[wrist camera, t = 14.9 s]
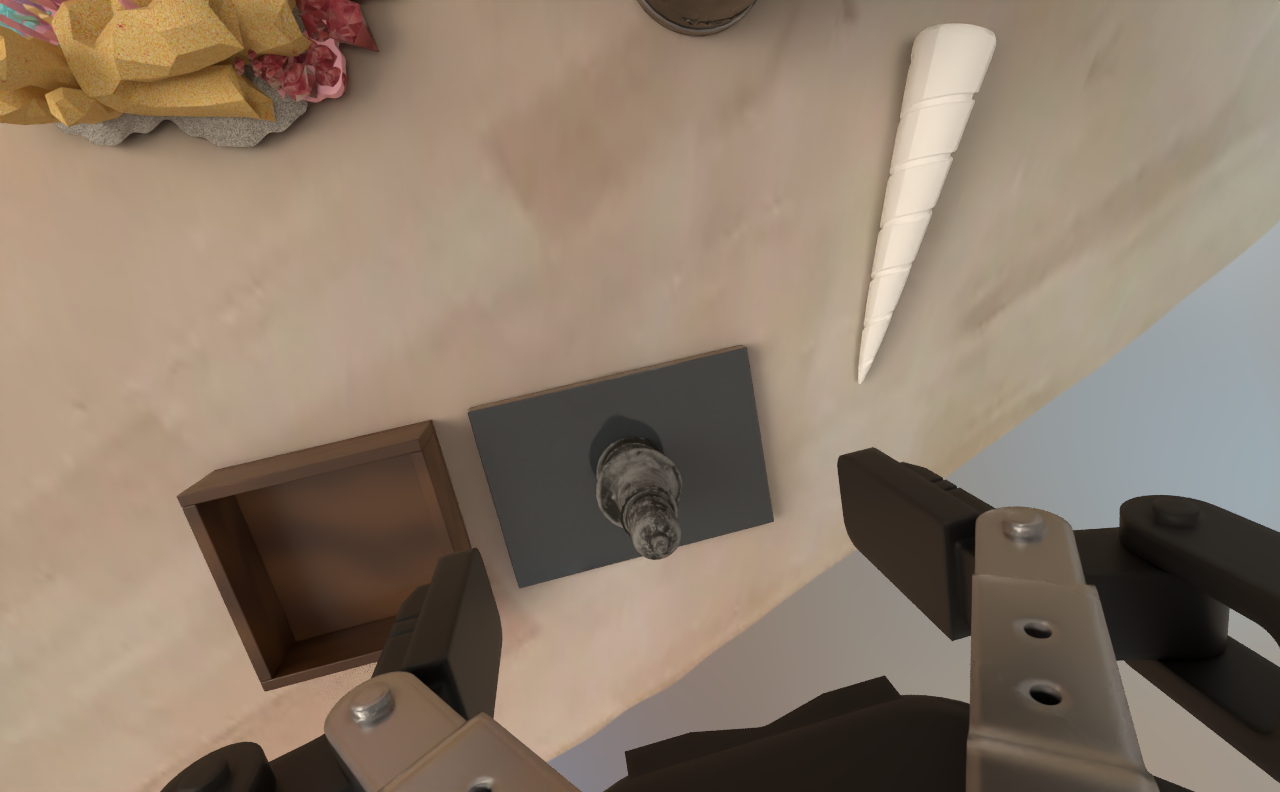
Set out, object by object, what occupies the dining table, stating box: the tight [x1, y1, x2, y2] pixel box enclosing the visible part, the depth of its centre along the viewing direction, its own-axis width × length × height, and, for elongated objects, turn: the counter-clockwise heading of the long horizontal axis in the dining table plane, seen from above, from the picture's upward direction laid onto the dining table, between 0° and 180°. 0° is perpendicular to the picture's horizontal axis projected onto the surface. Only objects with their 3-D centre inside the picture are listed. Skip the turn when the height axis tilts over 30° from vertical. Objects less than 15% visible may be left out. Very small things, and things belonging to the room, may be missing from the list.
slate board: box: [468, 345, 774, 588], centre depth 44 cm, size 14×20×1 cm
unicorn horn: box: [858, 23, 997, 384], centre depth 41 cm, size 5×24×5 cm, turn 168°
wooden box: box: [177, 420, 472, 691], centre depth 41 cm, size 15×15×4 cm
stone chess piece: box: [596, 437, 682, 560], centre depth 38 cm, size 6×6×12 cm
